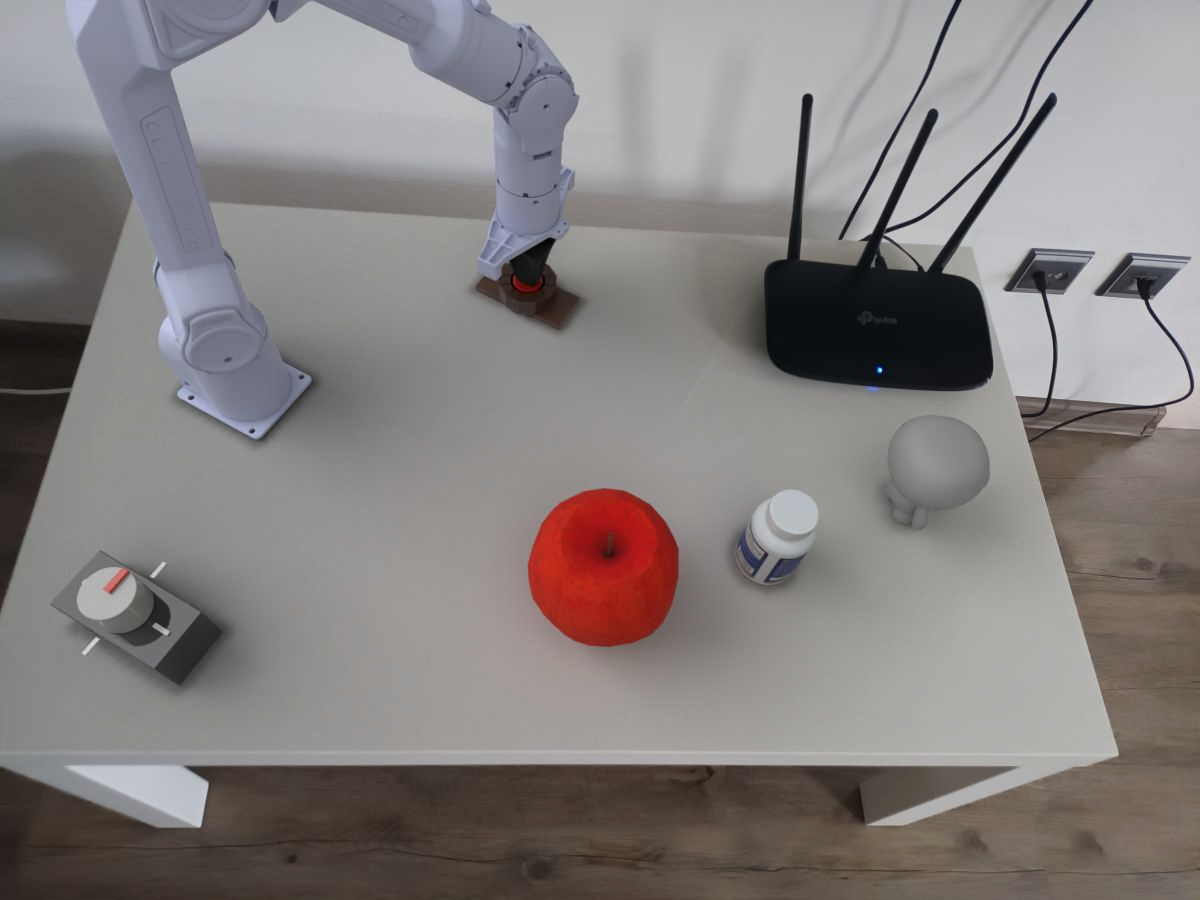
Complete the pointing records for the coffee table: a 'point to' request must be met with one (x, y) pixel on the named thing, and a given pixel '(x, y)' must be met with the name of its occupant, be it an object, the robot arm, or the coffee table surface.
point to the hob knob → (115, 600)
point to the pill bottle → (777, 537)
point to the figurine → (934, 467)
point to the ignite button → (526, 286)
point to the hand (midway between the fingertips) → (528, 279)
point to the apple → (604, 568)
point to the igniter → (532, 297)
